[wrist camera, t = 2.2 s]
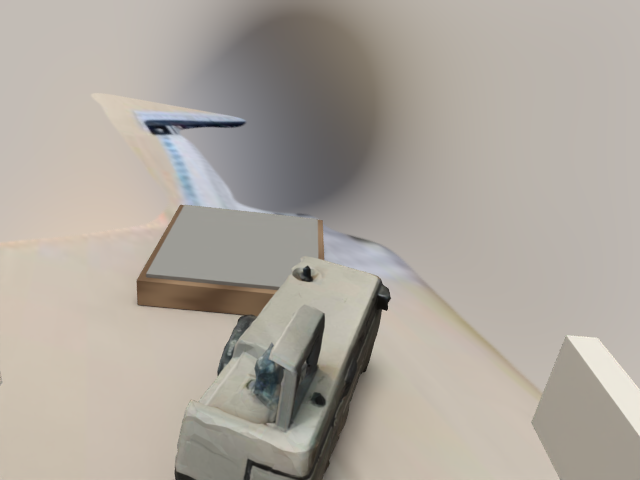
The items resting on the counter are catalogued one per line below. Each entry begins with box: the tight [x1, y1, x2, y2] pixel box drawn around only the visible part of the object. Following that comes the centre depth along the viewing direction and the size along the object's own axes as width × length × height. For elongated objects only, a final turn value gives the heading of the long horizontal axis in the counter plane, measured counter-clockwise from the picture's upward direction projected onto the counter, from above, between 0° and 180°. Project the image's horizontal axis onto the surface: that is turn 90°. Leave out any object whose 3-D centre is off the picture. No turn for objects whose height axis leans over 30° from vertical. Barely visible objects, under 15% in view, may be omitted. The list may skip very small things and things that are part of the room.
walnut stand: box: [137, 205, 324, 316], centre depth 42 cm, size 13×13×2 cm
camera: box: [175, 256, 391, 480], centre depth 26 cm, size 15×8×10 cm, turn 160°
